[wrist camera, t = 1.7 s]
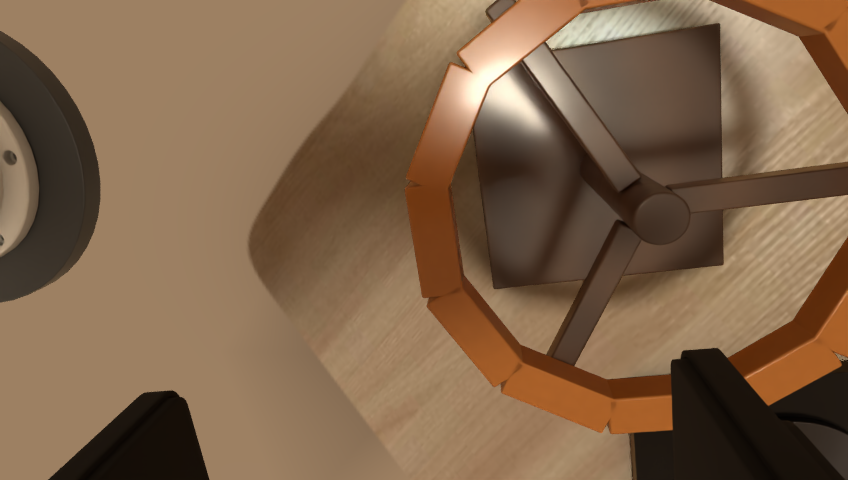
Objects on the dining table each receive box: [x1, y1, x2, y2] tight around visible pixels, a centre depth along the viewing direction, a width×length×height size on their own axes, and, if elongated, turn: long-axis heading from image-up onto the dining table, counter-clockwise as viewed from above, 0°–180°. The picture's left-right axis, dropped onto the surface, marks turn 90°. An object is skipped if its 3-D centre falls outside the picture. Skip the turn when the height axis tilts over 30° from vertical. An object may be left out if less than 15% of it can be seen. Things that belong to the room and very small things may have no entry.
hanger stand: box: [465, 0, 848, 366], centre depth 24 cm, size 15×16×12 cm
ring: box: [405, 0, 848, 434], centre depth 19 cm, size 16×16×2 cm
